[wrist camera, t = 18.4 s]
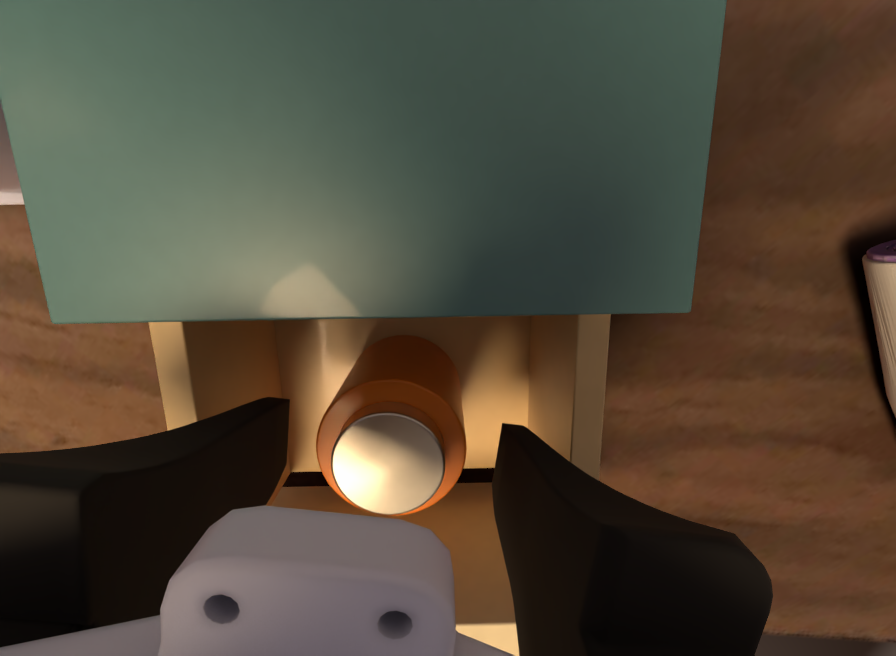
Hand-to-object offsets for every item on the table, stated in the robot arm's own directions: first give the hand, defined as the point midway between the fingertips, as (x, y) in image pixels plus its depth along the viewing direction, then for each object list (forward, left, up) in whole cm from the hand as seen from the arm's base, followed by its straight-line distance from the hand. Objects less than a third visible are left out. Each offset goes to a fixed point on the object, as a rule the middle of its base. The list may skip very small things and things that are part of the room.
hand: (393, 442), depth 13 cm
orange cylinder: (0, 0, -4) cm, 4 cm away
